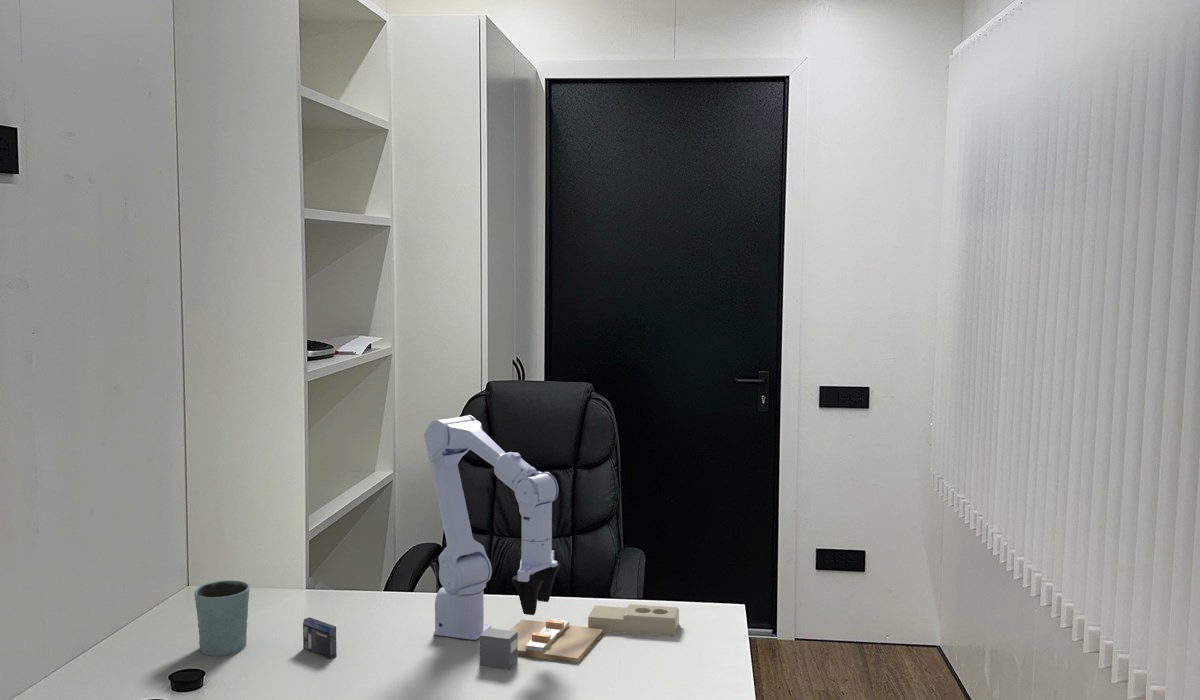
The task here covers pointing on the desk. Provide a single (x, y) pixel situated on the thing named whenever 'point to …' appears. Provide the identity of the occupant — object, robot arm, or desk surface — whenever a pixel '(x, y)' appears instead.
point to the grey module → (498, 648)
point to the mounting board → (558, 641)
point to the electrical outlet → (636, 619)
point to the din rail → (547, 635)
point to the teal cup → (222, 617)
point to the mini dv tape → (319, 637)
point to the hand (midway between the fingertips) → (536, 607)
